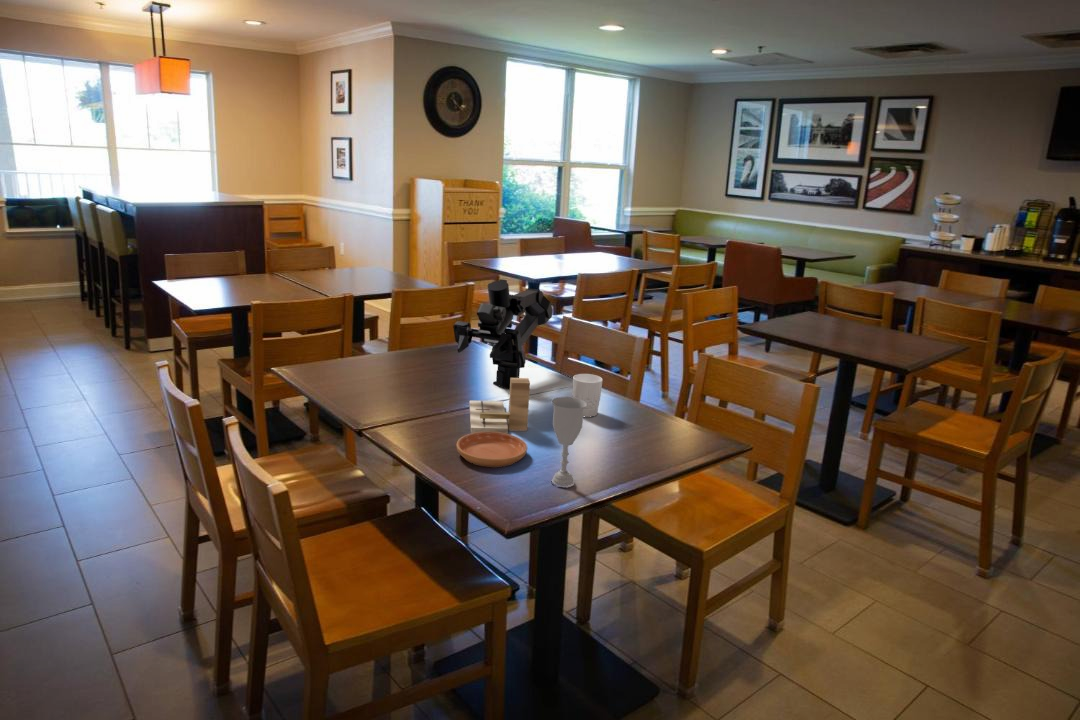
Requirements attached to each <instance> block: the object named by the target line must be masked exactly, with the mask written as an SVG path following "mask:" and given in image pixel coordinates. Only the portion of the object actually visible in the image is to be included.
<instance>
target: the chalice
mask: <svg viewBox="0 0 1080 720" xmlns="http://www.w3.org/2000/svg"><path fill="white" fill-rule="evenodd" d="M551 403H552V406H553V415H552V417H553V418H552V427H553V430H554V434H555V436H556V438H557V441H558V443H559V445H562V447H563V448H562V452H561V453H560V454H561V455H562V458H561V460H559V462H560V463H561V468H560V469H559V470H557V471H556V472H555V473H554V475H553V477H552V479H551V481H552V482H553V483H554V484H556V485H560V486H568V485H571V484H573V481H574V478H573V475H572V473H571V472H570V471H569V470H567V465H568V464H569V463H570V462H569V461H568V456H569V455H570V453H569V446H572V445H573V444H574V443H575V441H576V440H577V438H578V436H579V435H580V432H581V430H582V428H583V423H584V422H583V420H584V417H583V411H584V408H585V407H586V405H587V404H586V402H585V401H583V400H580V399H577V398H573V396H572V397H571V396H559V397H558V396H557V397H555V398H553V399H552V400H551Z"/></svg>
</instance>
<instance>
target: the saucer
mask: <svg viewBox="0 0 1080 720" xmlns="http://www.w3.org/2000/svg"><path fill="white" fill-rule="evenodd" d="M456 451H457V452H458V454H460V456H461V457H462V458H464V460H466V462H469V463H471V464H472V463H473V464H472V465H476V466H480V467H484V468H485V467H486V468H503V467H507V465H508V466H511V465H513V463H514V464H516V463H517V462H519V461H520V460H522V458H524V457H525V455H527V451H528V445H527V443H526V442H525V441H524V440H523V439H521V438H520V437H518V436H515V435H512V434H509V433H508V434H505V433H500V432H476V433H471V432H470V433H469V434H465V435H463V436H462V437H459V438H458V440H457V442H456ZM515 462H516V463H515ZM502 466H503V467H502Z"/></svg>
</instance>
